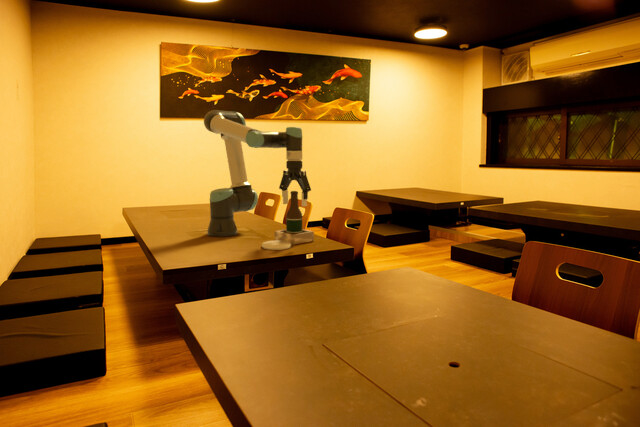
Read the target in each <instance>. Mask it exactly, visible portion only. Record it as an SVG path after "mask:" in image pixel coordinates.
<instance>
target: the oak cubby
mask: <svg viewBox="0 0 640 427" xmlns="http://www.w3.org/2000/svg"><path fill="white" fill-rule="evenodd" d="M314 240H315V232H314V231H313V230H308V229H303V228H302V233H299V234H289V233H286V229H279V230H275V231H274V241H288V242H290V243H291V246H292V245H298V244H305V243H308V242H314Z"/></svg>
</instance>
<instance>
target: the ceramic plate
mask: <svg viewBox="0 0 640 427" xmlns="http://www.w3.org/2000/svg"><path fill="white" fill-rule="evenodd" d="M261 247H262V249H265V250H270V251H282V250H287V249H291V247H292V244H291V243H290V242H288V241H276V240H267V241H264V242H262V243H261Z"/></svg>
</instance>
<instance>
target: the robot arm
mask: <svg viewBox="0 0 640 427" xmlns="http://www.w3.org/2000/svg"><path fill="white" fill-rule="evenodd" d="M203 125H204V128H205V129H206V130H208V131H209V132H211V133H214V134H216V135H220V138H221V139H222V140H223V141H224V145H225V146H224V147H225V151H226V158H227V163H228V169H229V170H228V171H229V176H230V181H231V185H230V187H223V188H217V189H214V190H212V191H210V193H209V204H210V205H209V213H210V215H209V217H210V220H209V224H208V227H207V236H210V237H218V238H219V237H220V238H223V237H232V236H236V235H238V228H237V225H236V222H235V218H234V215H235V214H234V213H241V212H242V213H243V212H249V211H252V210H254V209H255V208H256V206H257V205H258V200H259V199H258V198H259V197H258V196H259V195H258V193H257V191H256V190H255V189H253V188H252V184H251V183H249V182H248V177H247V176H248V175H247V170H246V163H245V158H244V152H243V147H242V146H243V145H242V142H243V143H245V144H246V145H247V146H248V147H250V148H254V149H258V148H259V149H260V148H262V149H265V148H266V149H267V148H268V149H269V148H270V149H283V148H284V149H286V150H285V151H286V159H285V160H287V161H286V166H285V167H286V169H285V170H283V171H282V177H281V180H280V184H279V188H278V189H279V190H281V192H282V196H281V197H282V204H283V205H288V204H289V190H288V189H289V187H290V185H291V183H292V181H295V182H297V183H298V185H299V186H298V187H300V189H301V207H308V198H309V197H308V194H309V192H311V191H312V188H311V185H310V182H309V180H308V176H307V171H306V170H302V169H303V161H302V160H303V129H302V128H301V127H298V126H287V127H286V128H285V131H263V130H258V129H256V128H252V127H251V126H247V125H246V120H245V117H244V116H243V115H242V114H241V113H240V112H237V111H233V110H230V111H228V110H221V109H220V110H218V109H215V110H214V109H213V110H210V111H208V112H207V113H206V114H205V116H204V118H203Z"/></svg>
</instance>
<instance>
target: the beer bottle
mask: <svg viewBox="0 0 640 427" xmlns="http://www.w3.org/2000/svg"><path fill="white" fill-rule="evenodd" d="M289 194H290V204H289V205H290V206H289V208H288V210H287V211H286V219H285V220H286V224H285V226H286V229H285V230H286V233H289V234H299V233H302V229H303V213H302V211H301V209H300V208H299V192H298V191H297V190H291V191H290V193H289Z"/></svg>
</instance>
